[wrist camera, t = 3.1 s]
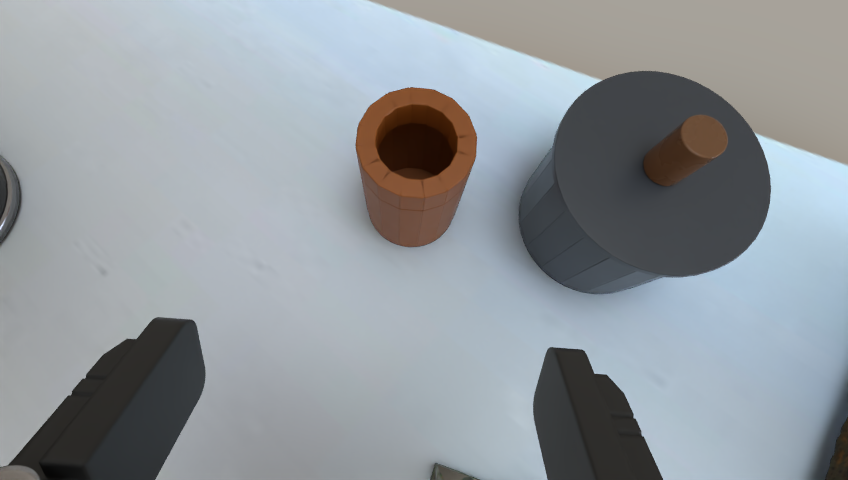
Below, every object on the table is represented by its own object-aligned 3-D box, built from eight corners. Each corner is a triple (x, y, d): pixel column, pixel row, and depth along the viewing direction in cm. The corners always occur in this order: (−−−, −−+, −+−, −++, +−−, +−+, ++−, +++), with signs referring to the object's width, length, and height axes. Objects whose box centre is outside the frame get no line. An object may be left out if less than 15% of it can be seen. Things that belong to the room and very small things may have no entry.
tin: (517, 287, 32) (561, 259, 24) (519, 147, 35) (559, 75, 26) (668, 299, 33) (766, 275, 24) (659, 159, 35) (743, 92, 27)
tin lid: (547, 270, 24) (581, 248, 20) (547, 73, 27) (577, 15, 23) (767, 288, 24) (850, 271, 20) (744, 91, 28) (810, 39, 23)
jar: (363, 243, 33) (349, 191, 23) (372, 162, 34) (362, 82, 25) (451, 250, 33) (474, 202, 23) (456, 169, 34) (479, 93, 25)
